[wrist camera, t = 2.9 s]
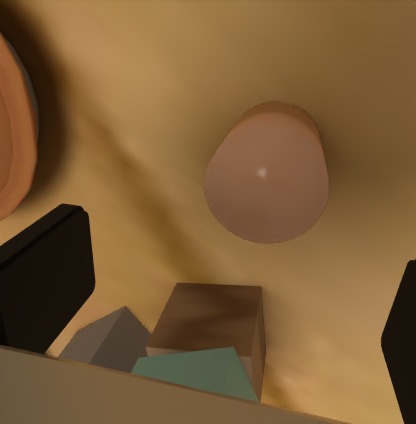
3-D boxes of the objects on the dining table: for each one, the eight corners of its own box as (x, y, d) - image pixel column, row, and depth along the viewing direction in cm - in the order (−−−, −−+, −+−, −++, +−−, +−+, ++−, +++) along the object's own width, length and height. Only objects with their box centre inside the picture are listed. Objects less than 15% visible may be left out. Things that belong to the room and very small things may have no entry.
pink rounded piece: (329, 106, 18) (342, 135, 13) (311, 195, 20) (316, 251, 15) (232, 97, 19) (207, 122, 14) (225, 184, 21) (201, 233, 16)
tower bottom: (261, 286, 24) (250, 356, 19) (265, 351, 26) (257, 430, 21) (177, 282, 25) (145, 346, 20) (189, 344, 28) (163, 416, 23)
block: (126, 305, 28) (85, 368, 22) (173, 357, 29) (145, 427, 24) (78, 329, 30) (32, 391, 25) (123, 376, 32) (89, 443, 26)
